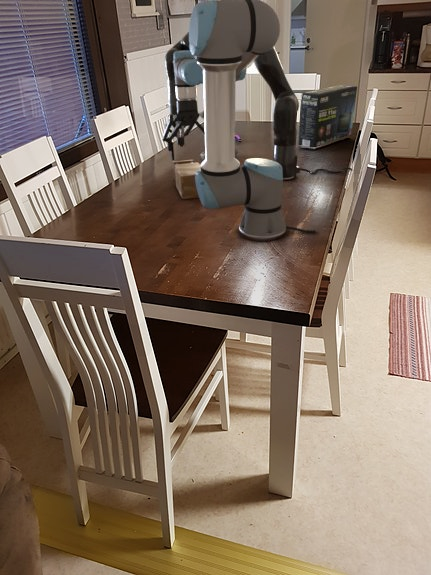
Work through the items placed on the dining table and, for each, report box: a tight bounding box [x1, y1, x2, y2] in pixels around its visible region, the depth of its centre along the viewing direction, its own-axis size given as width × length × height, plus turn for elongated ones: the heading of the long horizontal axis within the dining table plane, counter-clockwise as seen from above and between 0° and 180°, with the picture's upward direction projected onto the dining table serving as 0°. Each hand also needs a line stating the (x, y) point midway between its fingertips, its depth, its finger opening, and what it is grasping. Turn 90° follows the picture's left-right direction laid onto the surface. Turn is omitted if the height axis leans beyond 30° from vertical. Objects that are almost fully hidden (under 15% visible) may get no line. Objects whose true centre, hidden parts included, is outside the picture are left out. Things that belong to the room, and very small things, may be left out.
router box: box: [297, 84, 358, 151], centre depth 238 cm, size 36×11×27 cm, turn 134°
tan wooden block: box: [174, 161, 201, 200], centre depth 184 cm, size 16×10×9 cm, turn 13°
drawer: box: [172, 159, 195, 180], centre depth 194 cm, size 20×9×7 cm, turn 13°
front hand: (190, 157), depth 176 cm, fingers open, 13 cm apart
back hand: (181, 146), depth 196 cm, fingers closed
